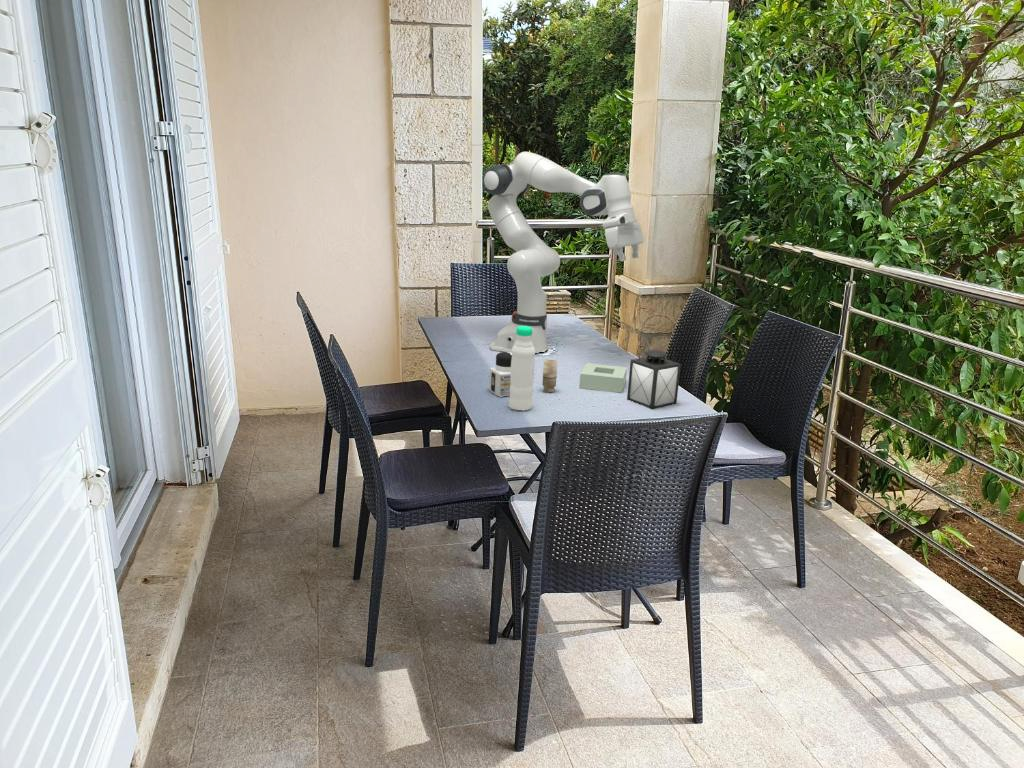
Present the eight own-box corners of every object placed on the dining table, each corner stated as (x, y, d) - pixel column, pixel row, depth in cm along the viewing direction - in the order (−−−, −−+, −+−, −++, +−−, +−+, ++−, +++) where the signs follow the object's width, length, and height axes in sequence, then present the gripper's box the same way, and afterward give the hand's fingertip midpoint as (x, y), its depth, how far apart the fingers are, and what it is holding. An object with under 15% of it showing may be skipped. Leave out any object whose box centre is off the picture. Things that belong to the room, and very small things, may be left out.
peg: (540, 392, 258) (542, 362, 255) (543, 388, 262) (545, 359, 259) (554, 393, 257) (556, 363, 254) (556, 390, 261) (558, 360, 259)
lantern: (626, 399, 255) (634, 313, 247) (651, 394, 262) (659, 310, 253) (652, 409, 247) (661, 320, 238) (676, 404, 253) (686, 317, 245)
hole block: (579, 388, 264) (580, 373, 263) (585, 377, 278) (586, 363, 276) (621, 392, 262) (623, 378, 260) (625, 381, 275) (627, 367, 273)
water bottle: (507, 404, 245) (511, 324, 238) (530, 404, 246) (535, 324, 239) (509, 411, 238) (513, 329, 231) (533, 411, 239) (538, 330, 232)
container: (499, 397, 251) (501, 357, 247) (488, 390, 257) (490, 351, 254) (521, 395, 254) (523, 355, 251) (509, 388, 261) (511, 349, 257)
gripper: (628, 219, 286) (635, 257, 288) (599, 223, 270) (607, 264, 272) (643, 215, 282) (651, 254, 284) (615, 219, 266) (623, 261, 268)
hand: (629, 259), depth 278 cm, fingers open, 8 cm apart
